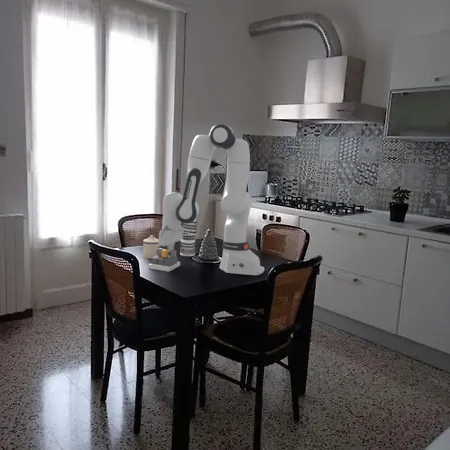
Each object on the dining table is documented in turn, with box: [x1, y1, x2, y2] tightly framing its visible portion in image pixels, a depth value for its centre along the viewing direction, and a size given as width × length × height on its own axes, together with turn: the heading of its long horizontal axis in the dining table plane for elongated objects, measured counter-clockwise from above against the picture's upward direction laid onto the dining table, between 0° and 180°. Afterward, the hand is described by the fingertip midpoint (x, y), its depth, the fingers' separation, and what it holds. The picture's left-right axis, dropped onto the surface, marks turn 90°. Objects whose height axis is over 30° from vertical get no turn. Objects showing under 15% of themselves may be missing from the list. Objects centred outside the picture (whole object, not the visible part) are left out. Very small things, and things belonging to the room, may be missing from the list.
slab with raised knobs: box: [148, 247, 181, 272], centre depth 217 cm, size 11×12×8 cm
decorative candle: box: [179, 217, 198, 257], centre depth 243 cm, size 9×9×25 cm
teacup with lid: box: [142, 235, 161, 260], centre depth 236 cm, size 12×9×12 cm
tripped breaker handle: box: [161, 248, 169, 258], centre depth 217 cm, size 2×2×4 cm
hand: (170, 251), depth 223 cm, fingers closed
